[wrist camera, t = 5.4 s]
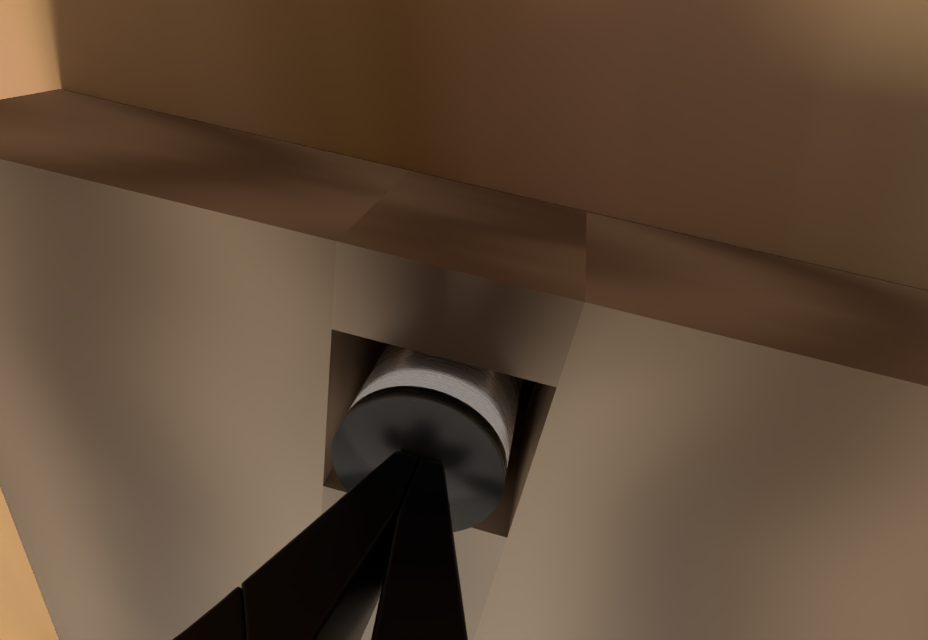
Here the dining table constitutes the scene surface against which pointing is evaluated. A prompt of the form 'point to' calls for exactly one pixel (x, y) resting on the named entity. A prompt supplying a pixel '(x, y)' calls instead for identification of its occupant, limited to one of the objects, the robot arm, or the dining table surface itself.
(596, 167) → the dining table surface
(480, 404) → the black capped peg
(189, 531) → the walnut block
